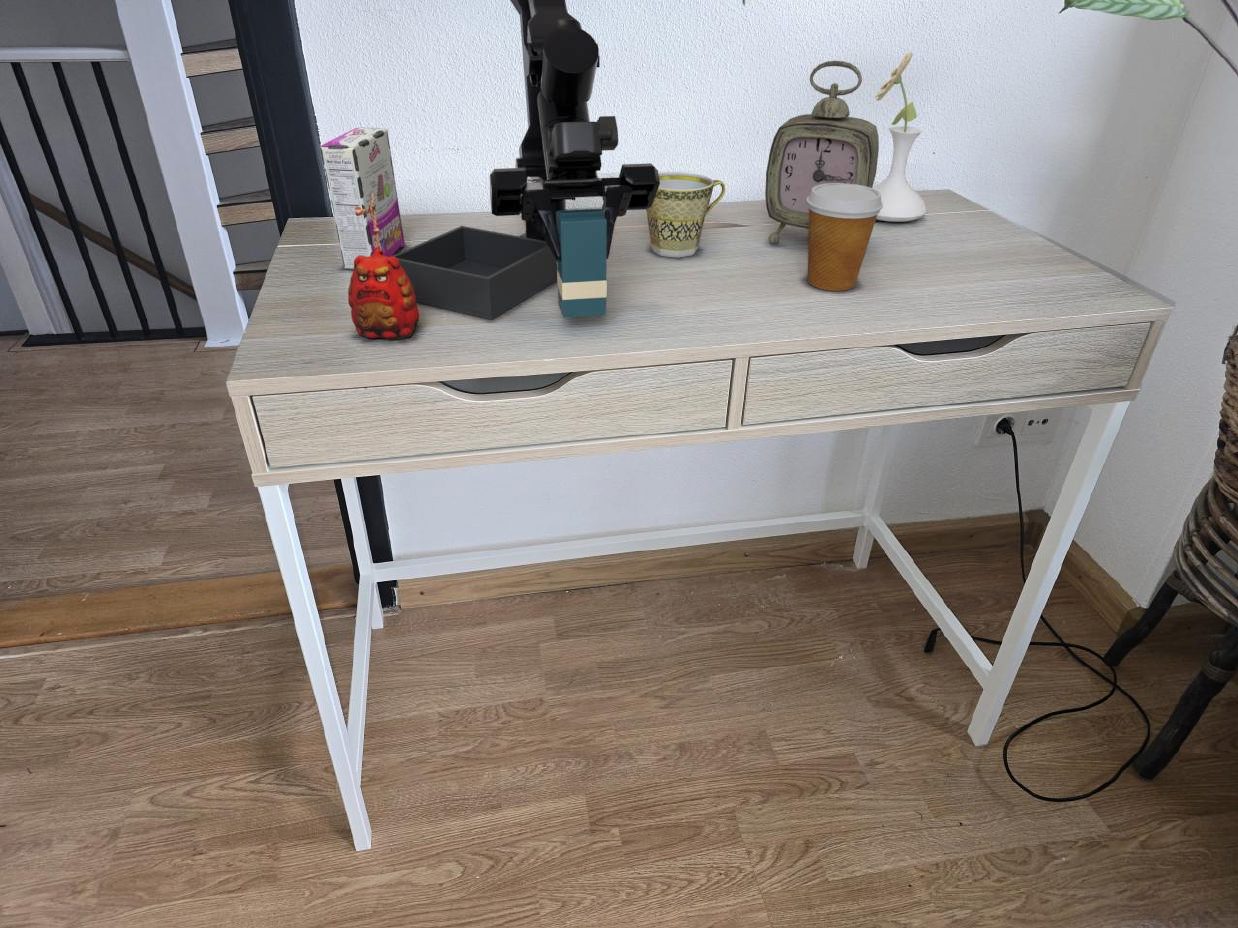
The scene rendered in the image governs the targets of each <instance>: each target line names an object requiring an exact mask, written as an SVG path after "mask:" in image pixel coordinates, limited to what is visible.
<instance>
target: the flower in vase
mask: <svg viewBox="0 0 1238 928" xmlns="http://www.w3.org/2000/svg"><path fill="white" fill-rule="evenodd" d="M912 58H913V51H910V52H907V53H906V54H905V55H903V58H902V59H901V62H900V64H899V66H898V67H894V69H893V70H892V72H891V73H890V78H889V79H888V80H887V81H885V82H884V83H883V84H882V85H881V86H880V90H879V92H878V93H877V94H876V95H875V96H874V98H876V100H875V101H878V102H879V101H881V100H882V99H883V98H884V97H885V96H886V95H887V94H888V93H889V91H890V90H891V89H892V88H893V87H894V86H895V85H899V86H900V89H901V92H902V95H903V101H904V107H903V108H901V109H900V111H899V112H898V113H897V115H896V116H895V118H894V119H893V121H892V123H891V125H892V126H891V127H889V128H888V130H889V133H890V134H891V137H892V143H893V149H892V150H893V151H892V160H891V166H890V170H889V172H888V175H886V177H885V179H884V180H882V181H881V182H879V183H878V184H877V185H876V186H873V187H872V188H873V189H875V190H877V191H879V192H880V193H881V202H882V204H883V207H882V209H881V210H880V212H879V213H878V214H877V217H876V220H877V221H884V222H892V223H893V222H894V223H895V222H896V223H897V222H899V223H900V222H903V223H904V222H910V221H911V222H912V221H915V220H918V219H921V218H922V217H923V216H924V215H925V214H927V212H928V210H927V205H926V203H925V201H924V200H923V198H922V197H921V196H920V195H919V193H917V191H916V190H915V189H914V188H913V187H912V186H911V185H910V183H908V181H907V178H906V168H907V162H908V159H909V156H910V152H911V150H912V148H913V145H914V142H915V141H916V139H917V138H918V137H919V136H920V135H921V134H922V132H923V129H920V128H918V127H913V126H908V122H911V121H914V120H915V119H916V118H917V116H918V114H917V111H916V108H915V105H914V102H913V101H911V102H909V103H908V99H907V95H906V89H905V86H904V83H903V77H902V74H903V73H904V72H905V70H906V69H907V67H908V65H909V64H910V62H911V60H912ZM901 120H903V121H904V125H903V126H902V125H901V126H898V125H897V124H898V123H899V122H900V121H901ZM896 125H897V126H896Z"/></svg>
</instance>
